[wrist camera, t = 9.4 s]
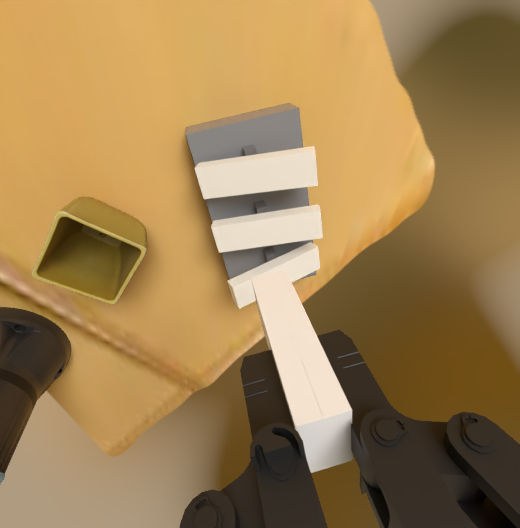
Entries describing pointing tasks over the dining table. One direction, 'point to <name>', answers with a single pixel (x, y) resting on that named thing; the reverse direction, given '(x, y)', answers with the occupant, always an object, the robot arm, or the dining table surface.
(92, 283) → the flower pot
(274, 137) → the switch panel
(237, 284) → the bar
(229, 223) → the bar
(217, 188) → the bar
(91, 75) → the dining table surface
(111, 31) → the dining table surface
